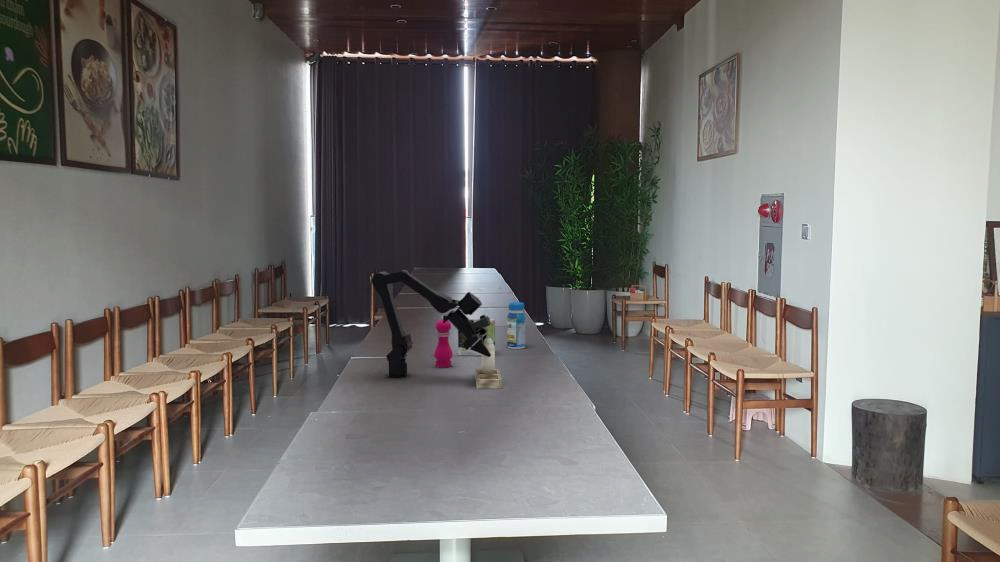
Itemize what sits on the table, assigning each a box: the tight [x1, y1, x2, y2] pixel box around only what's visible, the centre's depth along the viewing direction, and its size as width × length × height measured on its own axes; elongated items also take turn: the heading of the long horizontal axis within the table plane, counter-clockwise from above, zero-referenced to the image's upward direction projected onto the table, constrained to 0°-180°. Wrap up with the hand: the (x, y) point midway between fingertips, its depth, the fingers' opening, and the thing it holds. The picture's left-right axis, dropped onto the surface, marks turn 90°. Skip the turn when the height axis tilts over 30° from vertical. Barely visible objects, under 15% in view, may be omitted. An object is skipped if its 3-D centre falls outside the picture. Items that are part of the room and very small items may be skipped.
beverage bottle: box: [506, 301, 527, 350], centre depth 335 cm, size 8×8×20 cm
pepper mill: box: [433, 315, 453, 368], centre depth 297 cm, size 7×7×20 cm
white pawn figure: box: [480, 338, 496, 374], centre depth 274 cm, size 5×5×13 cm
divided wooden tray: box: [474, 368, 504, 390], centre depth 271 cm, size 9×17×3 cm, turn 4°
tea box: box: [457, 318, 496, 357], centre depth 321 cm, size 15×10×15 cm, turn 84°
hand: (491, 354), depth 274 cm, fingers closed on white pawn figure, 5 cm apart
